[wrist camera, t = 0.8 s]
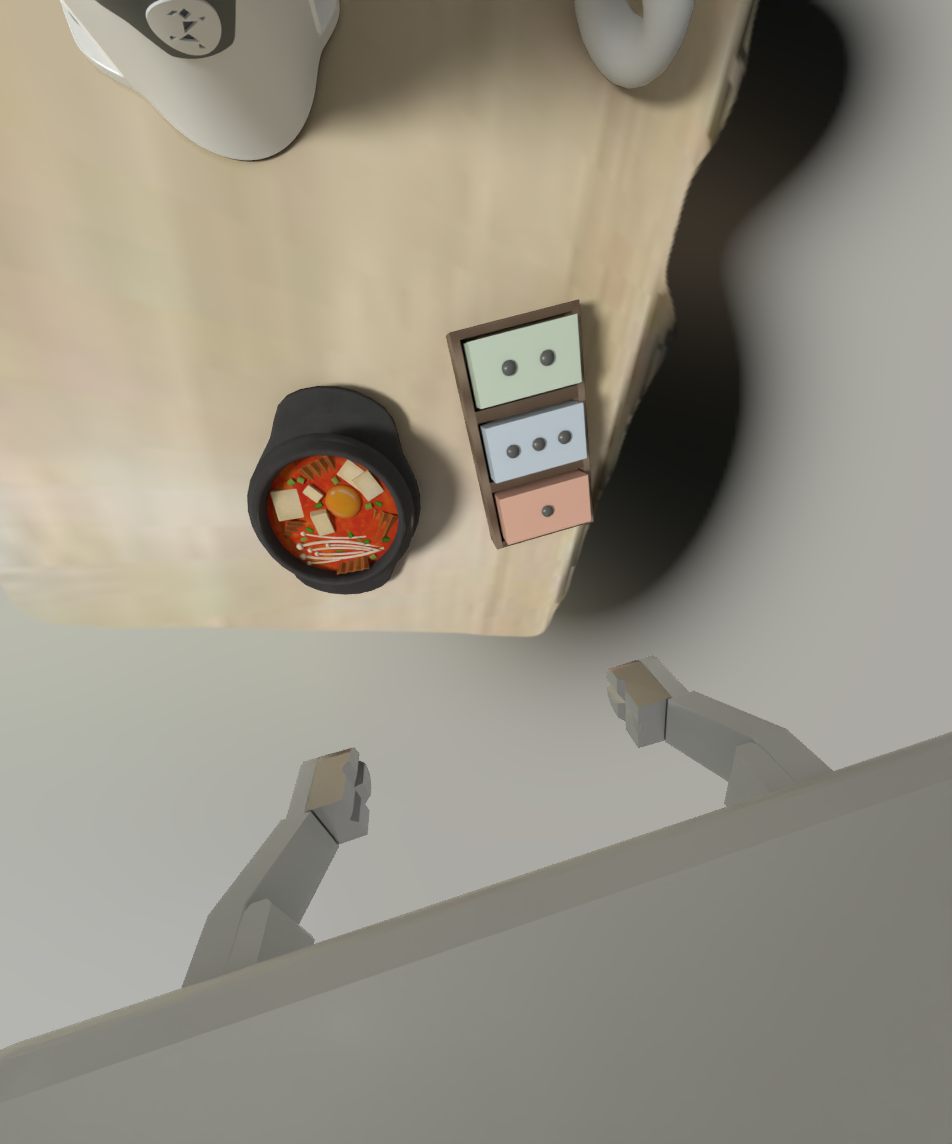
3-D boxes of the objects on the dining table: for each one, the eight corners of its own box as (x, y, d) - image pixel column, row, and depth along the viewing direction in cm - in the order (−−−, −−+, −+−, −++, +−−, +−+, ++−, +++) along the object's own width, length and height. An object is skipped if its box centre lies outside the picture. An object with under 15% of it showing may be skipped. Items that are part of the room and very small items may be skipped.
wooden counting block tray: (445, 335, 39) (449, 332, 36) (565, 305, 39) (579, 299, 36) (491, 538, 51) (497, 549, 48) (582, 512, 51) (593, 521, 48)
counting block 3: (493, 492, 45) (499, 500, 42) (576, 468, 46) (589, 475, 43) (501, 534, 48) (508, 545, 45) (580, 512, 49) (592, 521, 46)
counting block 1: (462, 344, 37) (468, 341, 34) (563, 318, 38) (578, 313, 35) (475, 406, 40) (481, 409, 37) (569, 381, 41) (583, 382, 38)
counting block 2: (479, 425, 41) (485, 429, 38) (570, 400, 42) (584, 402, 39) (489, 476, 44) (496, 484, 41) (575, 452, 45) (588, 458, 42)
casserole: (414, 588, 52) (417, 622, 45) (272, 585, 48) (250, 623, 41) (426, 397, 41) (431, 402, 34) (242, 373, 37) (204, 372, 30)
